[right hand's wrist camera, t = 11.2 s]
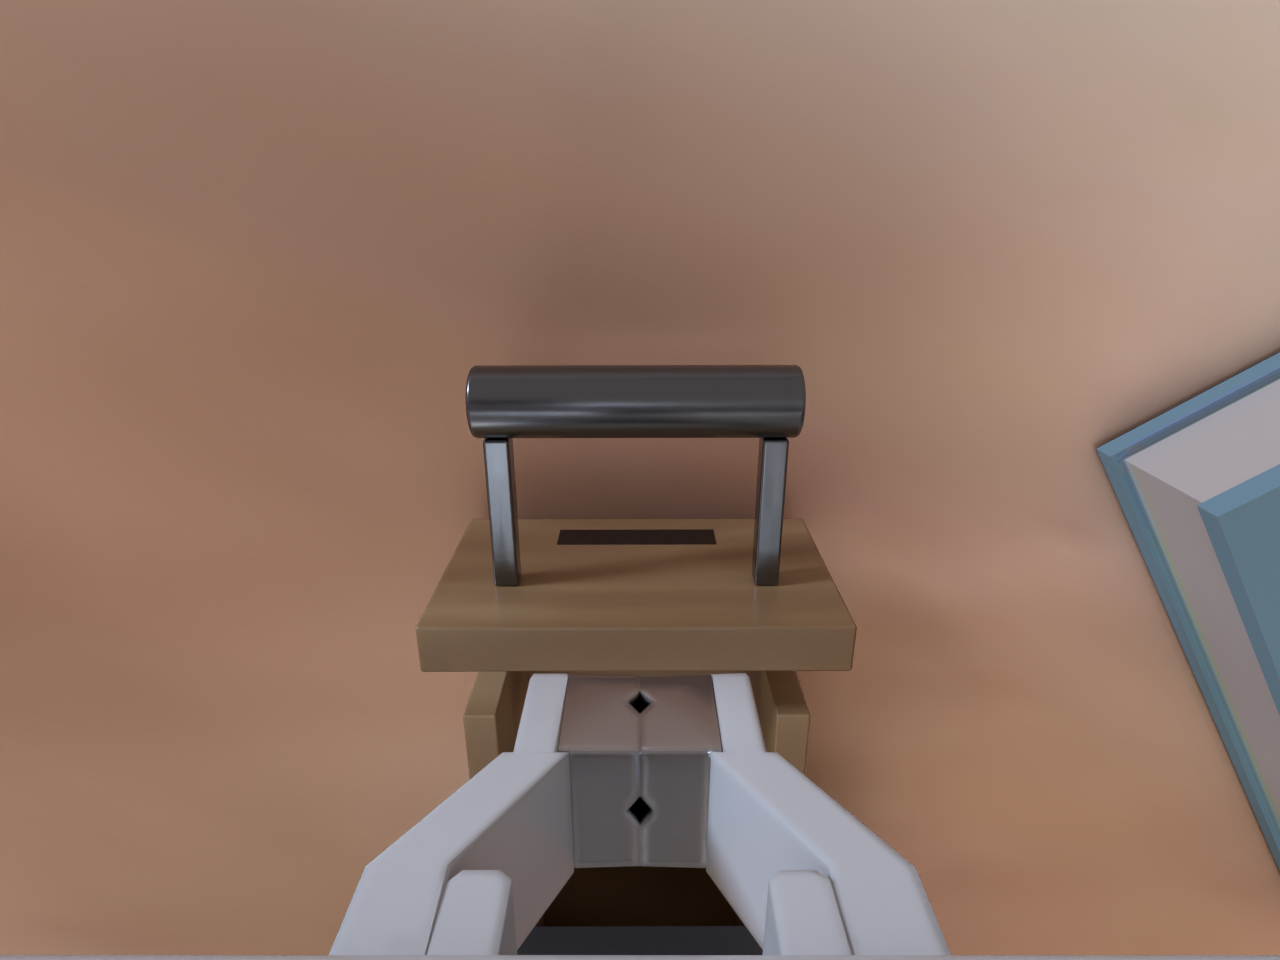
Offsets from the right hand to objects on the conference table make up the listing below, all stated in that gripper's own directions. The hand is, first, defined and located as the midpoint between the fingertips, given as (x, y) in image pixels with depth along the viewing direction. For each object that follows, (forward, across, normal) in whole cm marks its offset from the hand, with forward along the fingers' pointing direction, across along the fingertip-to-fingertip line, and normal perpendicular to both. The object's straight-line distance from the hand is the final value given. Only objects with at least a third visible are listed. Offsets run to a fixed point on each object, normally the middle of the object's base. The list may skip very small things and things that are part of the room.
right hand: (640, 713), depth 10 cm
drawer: (+12, 0, -9) cm, 15 cm away
